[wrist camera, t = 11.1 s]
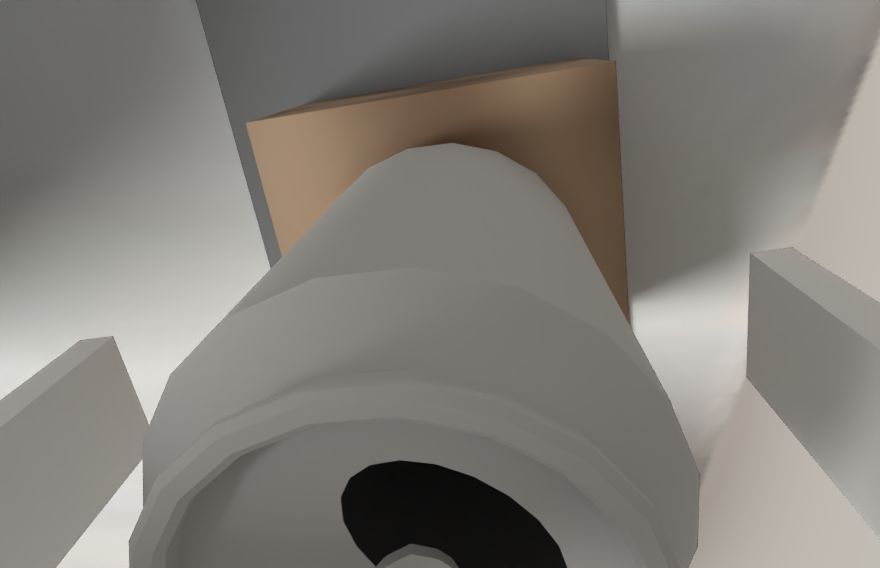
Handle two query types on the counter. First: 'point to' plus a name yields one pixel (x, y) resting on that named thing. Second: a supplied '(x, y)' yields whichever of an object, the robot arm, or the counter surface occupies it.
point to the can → (422, 396)
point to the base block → (467, 123)
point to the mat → (376, 53)
